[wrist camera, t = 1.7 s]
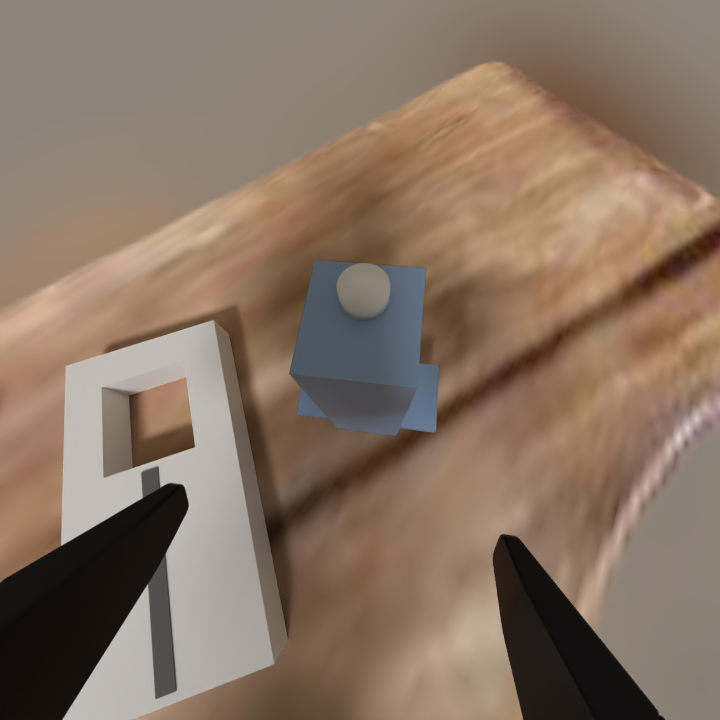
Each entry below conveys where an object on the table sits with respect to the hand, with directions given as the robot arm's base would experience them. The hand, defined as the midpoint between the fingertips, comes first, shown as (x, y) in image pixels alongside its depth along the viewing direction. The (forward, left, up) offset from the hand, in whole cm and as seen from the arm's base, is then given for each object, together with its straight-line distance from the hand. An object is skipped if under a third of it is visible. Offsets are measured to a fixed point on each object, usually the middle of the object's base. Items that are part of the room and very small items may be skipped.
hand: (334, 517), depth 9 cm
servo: (+6, +2, -12) cm, 14 cm away
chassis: (-5, +11, -12) cm, 18 cm away
